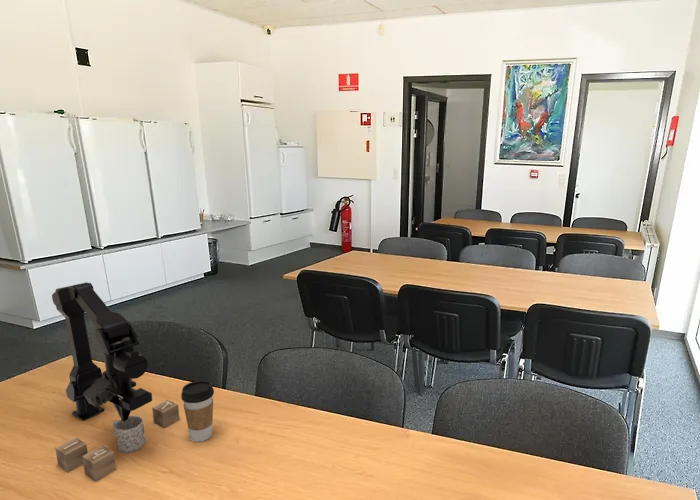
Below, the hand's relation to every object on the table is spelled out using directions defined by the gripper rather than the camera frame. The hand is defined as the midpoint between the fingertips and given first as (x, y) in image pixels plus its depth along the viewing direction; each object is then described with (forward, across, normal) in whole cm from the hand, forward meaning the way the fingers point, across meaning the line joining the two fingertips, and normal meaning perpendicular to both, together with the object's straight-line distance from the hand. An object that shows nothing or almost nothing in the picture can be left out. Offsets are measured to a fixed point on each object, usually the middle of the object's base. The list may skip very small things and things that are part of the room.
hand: (124, 420), depth 119 cm
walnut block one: (+7, -4, -12) cm, 14 cm away
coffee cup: (+7, +14, +13) cm, 20 cm away
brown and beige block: (+7, 0, +12) cm, 14 cm away
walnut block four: (+7, +5, -10) cm, 13 cm away
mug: (+7, 0, 0) cm, 7 cm away
